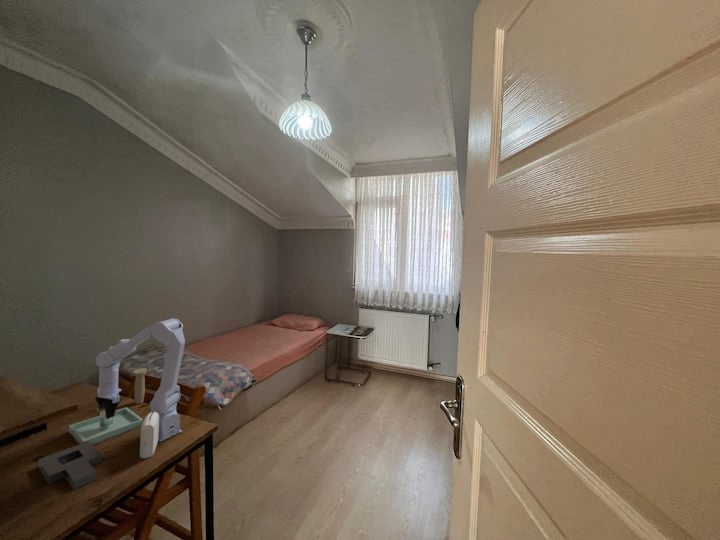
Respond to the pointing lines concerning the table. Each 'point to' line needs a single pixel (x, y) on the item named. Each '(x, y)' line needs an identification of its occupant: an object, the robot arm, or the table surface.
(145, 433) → the photo printer
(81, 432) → the tray
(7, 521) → the table surface
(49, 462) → the plate
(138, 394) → the handle
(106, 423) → the clear tall piece
